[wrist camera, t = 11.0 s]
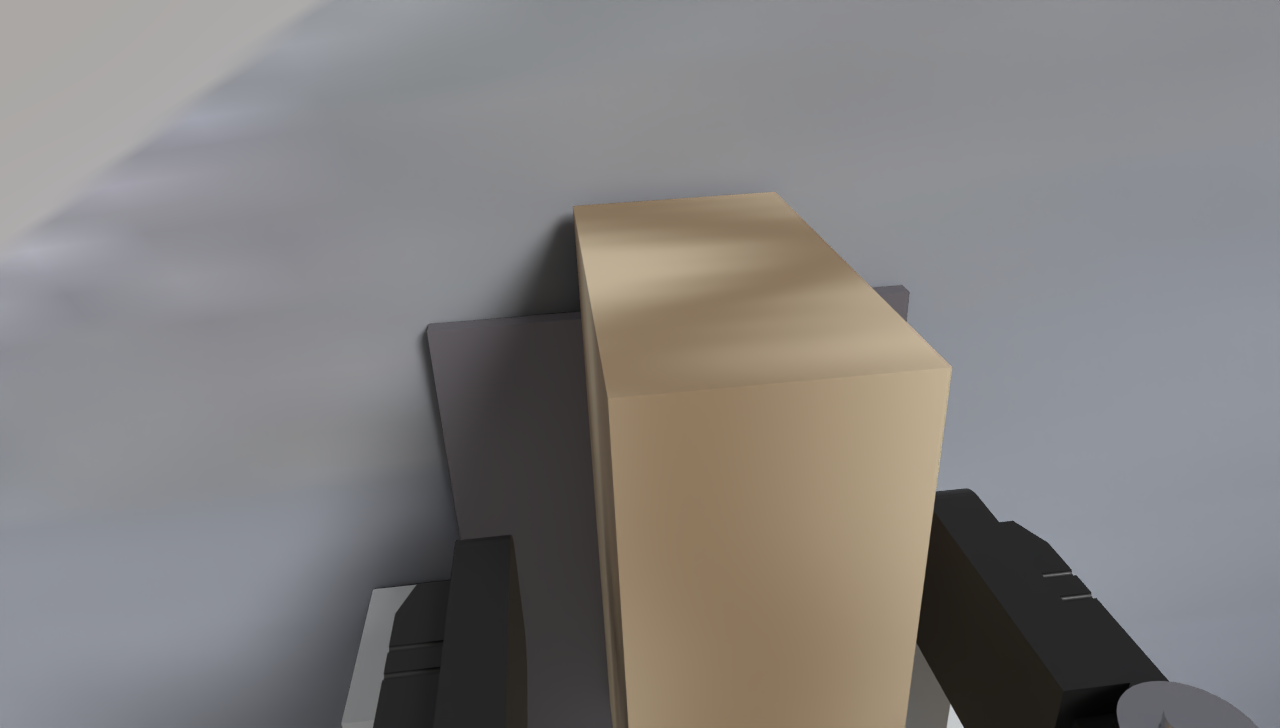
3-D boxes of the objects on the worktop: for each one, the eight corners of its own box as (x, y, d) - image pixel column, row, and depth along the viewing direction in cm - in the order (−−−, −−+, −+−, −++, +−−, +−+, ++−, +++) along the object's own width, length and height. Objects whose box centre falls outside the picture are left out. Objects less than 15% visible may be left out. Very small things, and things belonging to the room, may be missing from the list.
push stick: (774, 191, 13) (952, 367, 8) (760, 687, 17) (866, 1021, 12) (573, 205, 13) (607, 398, 7) (610, 705, 17) (649, 1055, 12)
